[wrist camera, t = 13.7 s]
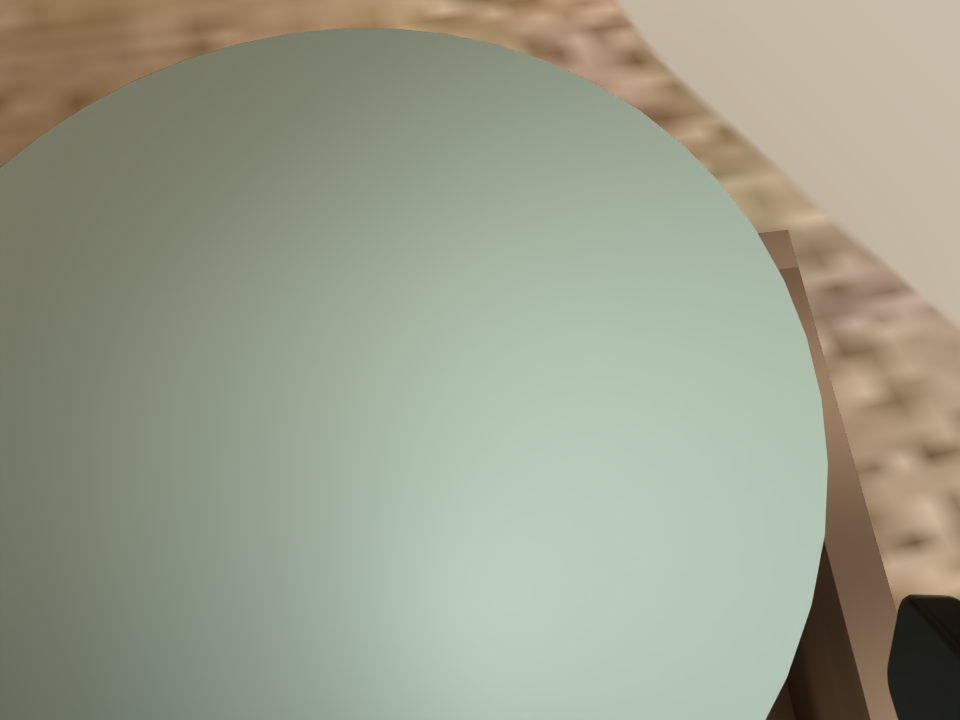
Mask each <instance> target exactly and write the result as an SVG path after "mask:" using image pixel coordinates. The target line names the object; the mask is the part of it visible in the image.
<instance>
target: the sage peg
mask: <svg viewBox="0 0 960 720" xmlns="http://www.w3.org/2000/svg"><path fill="white" fill-rule="evenodd" d="M827 474H828V460H827V450H826V440H825V430H824V419H823V409H822V399H821V395H820V390H819V386H818V382H817V378H816V374H815V370H814V366H813V362H812V357H811V353H810V349H809V345H808V341H807V337H806V334H805V332H804V329H803V327H802V324H801V322H800V319H799V317H798V314H797V312H796V309H795V307H794V304H793V301H792V299H791V296H790V294H789V291H788V289H787V286H786V284H785V281H784V279H783V277H782V276H781V274H780V272H779V270H778V269H777V267H776V265H775V263H774V261H773V260H772V258H771V256H770V254H769V253H768V251H767V249H766V247H765V245H764V244H763V242H762V240H761V238H760V237H759V235H758V233H757V231H756V229H755V228H754V227H753V225H752V224H751V223H750V221H749V220H748V219H747V217H746V216H745V215H744V214H743V212H742V211H741V210H740V208H739V207H738V206H737V204H736V203H735V202H734V200H733V199H732V198H731V196H730V195H729V194H728V192H727V191H726V190H725V188H724V187H723V186H722V184H721V183H720V182H719V181H718V180H717V179H716V178H715V177H714V176H713V175H712V174H711V173H710V172H709V171H708V170H707V169H706V168H705V167H704V166H703V165H702V164H701V163H700V162H699V161H698V160H697V159H696V158H695V157H694V156H693V155H692V154H691V153H690V152H689V151H688V150H687V149H686V148H685V147H684V145H683V144H681V143H680V142H679V141H677V140H676V139H675V138H674V137H672V136H671V135H670V134H669V133H667V132H666V131H665V130H664V129H662V128H661V127H660V126H659V125H657V124H656V123H655V122H653V121H652V120H651V119H650V118H648V117H647V116H646V115H645V114H643V113H642V112H641V111H639V110H638V109H636V108H635V107H633V106H631V105H630V104H628V103H626V102H625V101H623V100H621V99H620V98H618V97H616V96H615V95H613V94H612V93H610V92H608V91H607V90H605V89H603V88H602V87H600V86H598V85H597V84H595V83H593V82H591V81H589V80H587V79H584V78H582V77H580V76H578V75H576V74H574V73H571V72H569V71H567V70H565V69H563V68H561V67H558V66H556V65H554V64H552V63H550V62H547V61H545V60H542V59H539V58H536V57H533V56H530V55H527V54H523V53H520V52H517V51H514V50H511V49H508V48H505V47H502V46H499V45H496V44H491V43H486V42H481V41H477V40H472V39H467V38H462V37H458V36H453V35H448V34H441V33H431V32H422V31H412V30H402V29H333V30H323V31H313V32H303V33H293V34H286V35H281V36H276V37H271V38H266V39H261V40H256V41H251V42H246V43H241V44H236V45H233V46H230V47H226V48H223V49H220V50H217V51H213V52H210V53H207V54H203V55H200V56H197V57H193V58H190V59H187V60H184V61H182V62H179V63H177V64H174V65H172V66H169V67H167V68H164V69H162V70H160V71H157V72H155V73H152V74H150V75H147V76H145V77H142V78H140V79H138V80H135V81H133V82H131V83H129V84H127V85H126V86H124V87H122V88H120V89H118V90H116V91H114V92H112V93H110V94H108V95H107V96H105V97H103V98H101V99H99V100H97V101H95V102H93V103H91V104H89V105H87V106H86V107H84V108H83V109H81V110H80V111H78V112H76V113H75V114H73V115H72V116H70V117H69V118H67V119H66V120H64V121H63V122H61V123H60V124H58V125H57V126H55V127H53V128H52V129H50V130H49V131H47V132H46V133H44V134H43V135H41V136H40V137H38V138H37V139H36V140H35V141H33V142H32V143H31V144H30V145H28V146H27V147H26V148H25V149H23V150H22V151H21V152H20V153H18V154H17V155H16V156H15V157H13V158H12V159H11V160H10V161H8V162H7V163H6V164H5V165H3V166H2V167H1V168H0V720H766V718H767V716H768V714H769V712H770V710H771V708H772V706H773V704H774V702H775V700H776V698H777V696H778V694H779V692H780V690H781V688H782V686H783V684H784V682H785V680H786V678H787V676H788V673H789V670H790V667H791V664H792V661H793V658H794V655H795V652H796V650H797V647H798V644H799V641H800V638H801V635H802V632H803V629H804V626H805V623H806V620H807V617H808V614H809V611H810V608H811V605H812V600H813V595H814V589H815V584H816V579H817V573H818V568H819V563H820V557H821V552H822V547H823V541H824V536H825V520H826V497H827Z"/></svg>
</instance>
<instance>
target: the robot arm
mask: <svg viewBox="0 0 960 720" xmlns="http://www.w3.org/2000/svg"><path fill="white" fill-rule="evenodd" d="M887 680H888V687H889V692H890V696H891V699H892V702H893V705H894V709H895V712H896V715H897V718H898V720H960V600H958V599H956V598H954V597H951V596H945V595H913V594H912V595H908V596H907V597H905V598H904V599H903V600H902V602H901V603H900V606H899V609H898V613H897V618H896V624H895V629H894V634H893V639H892V644H891V650H890V655H889V660H888V666H887Z"/></svg>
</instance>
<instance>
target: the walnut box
mask: <svg viewBox="0 0 960 720" xmlns="http://www.w3.org/2000/svg"><path fill="white" fill-rule="evenodd" d="M758 235H759V237H760V238H761V240H762V242H763V244H764V245H765V247H766V249H767V251H768V253H769V254H770V256H771V258H772V260H773V261H774V263H775V265H776V267H777V269H778V270H779V272H780V274H781V276H782V277H783V279H784V281H785V284H786V286H787V289H788V291H789V294H790V296H791V299H792V301H793V304H794V307H795V309H796V312H797V314H798V317H799V319H800V322H801V324H802V327H803V329H804V332H805V334H806V337H807V341H808V345H809V349H810V353H811V357H812V362H813V366H814V370H815V374H816V378H817V382H818V386H819V390H820V395H821V399H822V409H823V419H824V430H825V440H826V450H827V460H828V474H827V497H826V520H825V536H824V541H823V547H822V552H821V557H820V563H819V568H818V573H817V579H816V584H815V589H814V595H813V600H812V605H811V608H810V611H809V614H808V617H807V620H806V623H805V626H804V629H803V632H802V635H801V638H800V641H799V644H798V647H797V650H796V652H795V655H794V658H793V661H792V664H791V667H790V670H789V673H788V676H787V678H786V680H785V682H784V684H783V686H782V688H781V690H780V692H779V694H778V696H777V698H776V700H775V702H774V704H773V706H772V708H771V710H770V712H769V714H768V716H767V718H766V720H898V718H897V715H896V712H895V709H894V705H893V702H892V699H891V696H890V692H889V687H888V680H887V666H888V660H889V655H890V650H891V644H892V639H893V634H894V629H895V624H896V618H897V612H896V609H895V605H894V602H893V598H892V595H891V591H890V587H889V584H888V580H887V577H886V573H885V570H884V566H883V563H882V559H881V556H880V552H879V549H878V545H877V542H876V538H875V535H874V531H873V528H872V524H871V521H870V517H869V514H868V510H867V507H866V503H865V500H864V496H863V493H862V489H861V486H860V482H859V479H858V475H857V471H856V468H855V464H854V461H853V457H852V454H851V450H850V447H849V443H848V440H847V436H846V433H845V429H844V426H843V422H842V419H841V415H840V412H839V408H838V405H837V401H836V398H835V394H834V391H833V387H832V384H831V380H830V377H829V373H828V370H827V366H826V363H825V359H824V355H823V352H822V348H821V345H820V341H819V338H818V334H817V331H816V327H815V324H814V320H813V317H812V313H811V310H810V306H809V303H808V299H807V296H806V292H805V289H804V285H803V282H802V278H801V275H800V271H799V268H798V264H797V261H796V257H795V254H794V250H793V247H792V243H791V239H790V236H789V232H788V230H784V231H775V232H767V233H758Z"/></svg>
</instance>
